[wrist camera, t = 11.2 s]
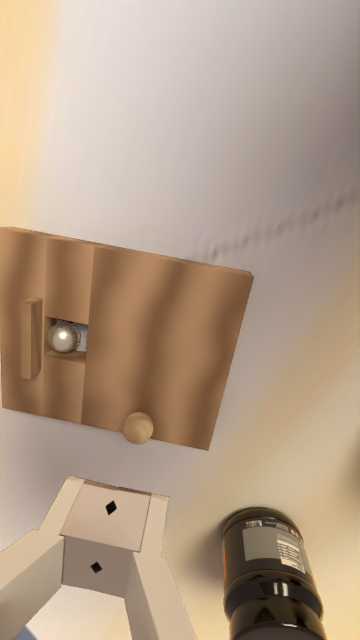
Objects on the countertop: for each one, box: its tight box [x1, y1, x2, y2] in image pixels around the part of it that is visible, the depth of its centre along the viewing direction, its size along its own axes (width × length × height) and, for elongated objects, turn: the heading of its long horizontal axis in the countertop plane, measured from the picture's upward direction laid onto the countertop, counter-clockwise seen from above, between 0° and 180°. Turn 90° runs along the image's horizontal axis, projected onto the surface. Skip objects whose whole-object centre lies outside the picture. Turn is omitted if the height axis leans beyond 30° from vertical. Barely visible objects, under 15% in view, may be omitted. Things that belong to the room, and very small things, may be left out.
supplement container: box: [221, 509, 327, 640], centre depth 34 cm, size 10×10×12 cm
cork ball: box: [123, 412, 154, 444], centre depth 31 cm, size 3×3×3 cm
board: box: [0, 227, 254, 450], centre depth 31 cm, size 24×20×4 cm
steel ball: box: [47, 322, 80, 352], centre depth 31 cm, size 3×3×3 cm
